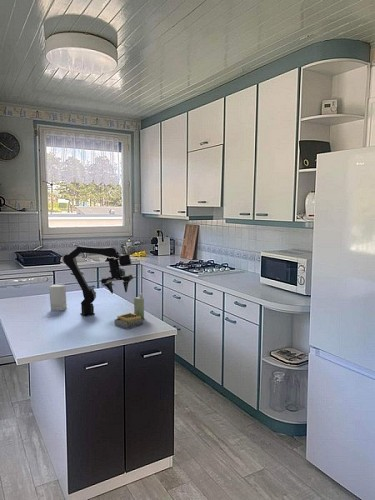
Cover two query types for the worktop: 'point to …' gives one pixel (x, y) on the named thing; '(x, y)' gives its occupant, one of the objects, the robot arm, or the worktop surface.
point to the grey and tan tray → (128, 320)
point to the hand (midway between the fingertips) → (119, 292)
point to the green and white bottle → (139, 306)
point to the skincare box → (57, 297)
